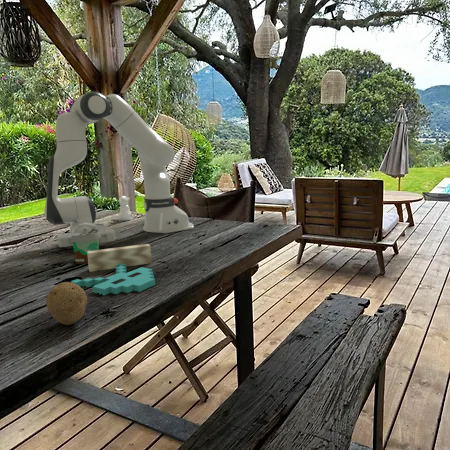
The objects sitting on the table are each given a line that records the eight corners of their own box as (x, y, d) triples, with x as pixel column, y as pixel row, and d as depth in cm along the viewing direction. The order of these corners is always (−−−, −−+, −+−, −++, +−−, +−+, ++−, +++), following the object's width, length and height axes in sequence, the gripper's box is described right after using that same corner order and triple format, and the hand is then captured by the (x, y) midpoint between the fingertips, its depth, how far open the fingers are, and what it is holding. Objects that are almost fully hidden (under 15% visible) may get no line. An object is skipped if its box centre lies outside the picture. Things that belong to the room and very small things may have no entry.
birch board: (149, 260, 155) (148, 243, 154) (151, 263, 152) (150, 245, 151) (88, 269, 147) (87, 251, 146) (90, 271, 144) (88, 253, 143)
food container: (88, 266, 150) (86, 236, 148) (73, 264, 152) (70, 235, 150) (109, 256, 162) (107, 228, 159) (94, 255, 163) (92, 227, 161)
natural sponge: (59, 314, 111) (55, 276, 109) (95, 315, 111) (91, 276, 108) (42, 331, 103) (37, 289, 100) (80, 332, 102) (76, 289, 100)
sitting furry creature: (128, 217, 232) (127, 193, 230) (137, 219, 226) (136, 195, 224) (112, 219, 226) (110, 196, 224) (121, 222, 220) (119, 197, 217)
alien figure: (71, 288, 131) (122, 301, 120) (70, 281, 130) (121, 293, 120) (121, 269, 147) (169, 279, 137) (120, 263, 147) (169, 272, 137)
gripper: (54, 229, 169) (57, 237, 156) (110, 223, 177) (117, 230, 164) (56, 245, 170) (59, 254, 158) (111, 239, 178) (118, 247, 166)
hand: (89, 242), depth 161 cm, fingers closed
